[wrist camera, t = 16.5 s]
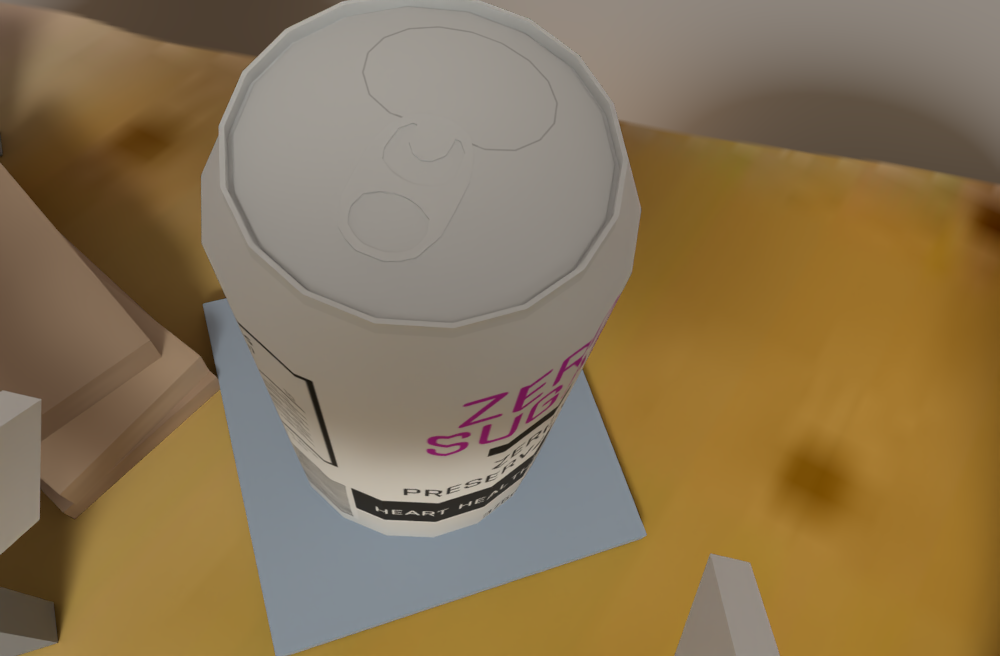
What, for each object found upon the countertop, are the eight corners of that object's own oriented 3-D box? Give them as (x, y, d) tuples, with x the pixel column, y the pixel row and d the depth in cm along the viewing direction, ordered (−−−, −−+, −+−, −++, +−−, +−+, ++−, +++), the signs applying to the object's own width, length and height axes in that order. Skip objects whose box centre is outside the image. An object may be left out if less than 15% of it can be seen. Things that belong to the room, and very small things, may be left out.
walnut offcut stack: (8, 183, 31) (-43, 116, 28) (230, 387, 29) (205, 342, 25) (-158, 297, 29) (-237, 239, 25) (70, 532, 26) (17, 504, 23)
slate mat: (525, 235, 32) (527, 227, 31) (642, 538, 27) (646, 534, 27) (206, 311, 29) (202, 303, 29) (278, 658, 25) (276, 657, 24)
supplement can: (358, 274, 30) (315, -87, 16) (572, 360, 29) (715, 61, 16) (247, 480, 26) (76, 243, 13) (487, 582, 26) (575, 445, 12)
